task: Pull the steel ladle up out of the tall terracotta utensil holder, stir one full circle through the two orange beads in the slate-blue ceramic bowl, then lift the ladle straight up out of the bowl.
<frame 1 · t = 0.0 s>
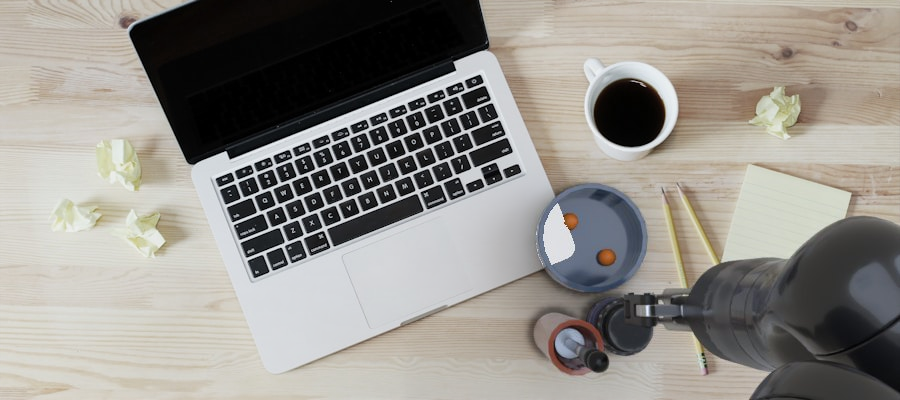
hand: (693, 307, 67), 20 cm above the table, tool pointing down, fingers open, 8 cm apart
bead b: (607, 257, 86), point 2 cm above the table, touching bowl
ladle: (600, 363, 53), point 34 cm above the table, touching crock
crock: (554, 333, 87), on the table
bowl: (586, 240, 88), on the table
bead a: (569, 221, 87), point 2 cm above the table, touching bowl
pill bottle: (611, 323, 87), on the table
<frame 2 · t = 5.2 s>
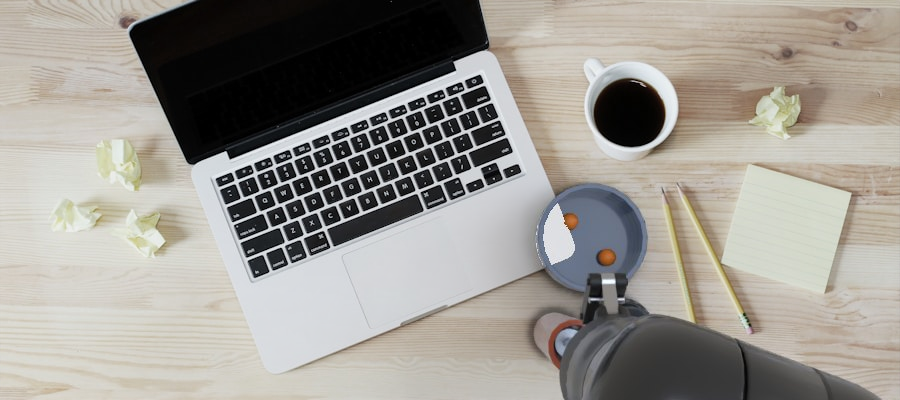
hand: (590, 356, 58), 29 cm above the table, tool pointing down, fingers closed on ladle
ladle: (600, 362, 53), point 34 cm above the table, touching crock, gripper
everything else where it was.
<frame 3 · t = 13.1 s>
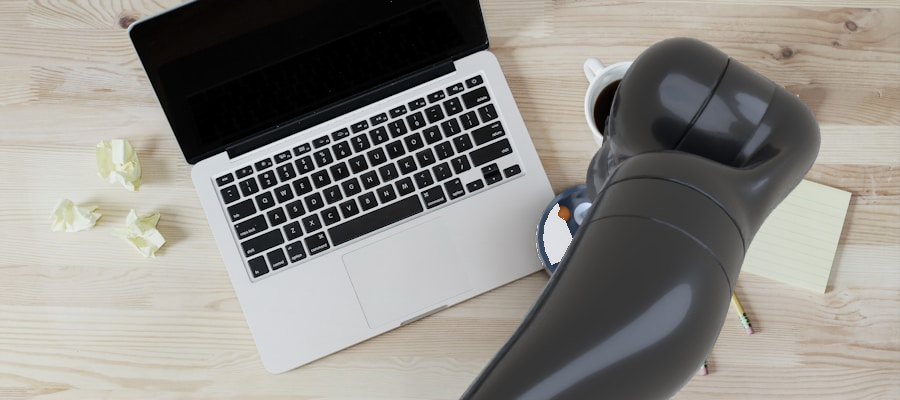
hand: (606, 201, 73), 16 cm above the table, tool pointing down, fingers closed on ladle
ladle: (615, 194, 68), point 21 cm above the table, touching gripper
bead a: (561, 214, 87), point 2 cm above the table, tilted 73°, touching bowl
everything else where it was.
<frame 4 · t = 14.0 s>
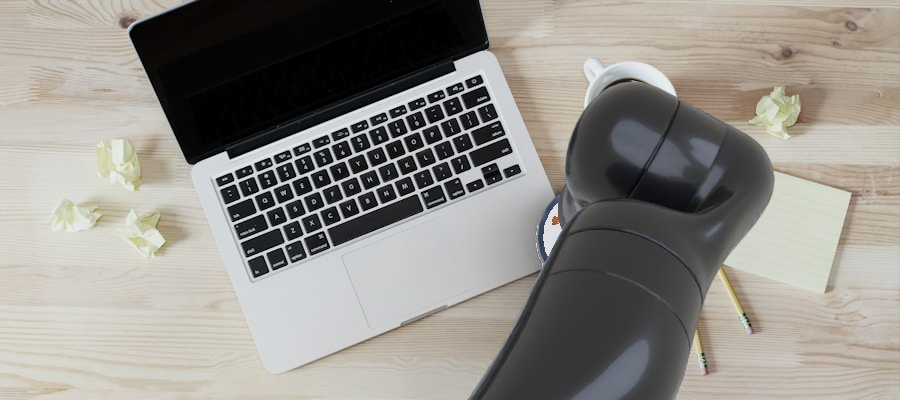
hand: (583, 225, 73), 16 cm above the table, tool pointing down, fingers closed on ladle
ladle: (589, 220, 68), point 21 cm above the table, touching bead a, gripper
bead a: (554, 220, 87), point 2 cm above the table, tilted 83°, touching bowl, ladle
everything else where it was.
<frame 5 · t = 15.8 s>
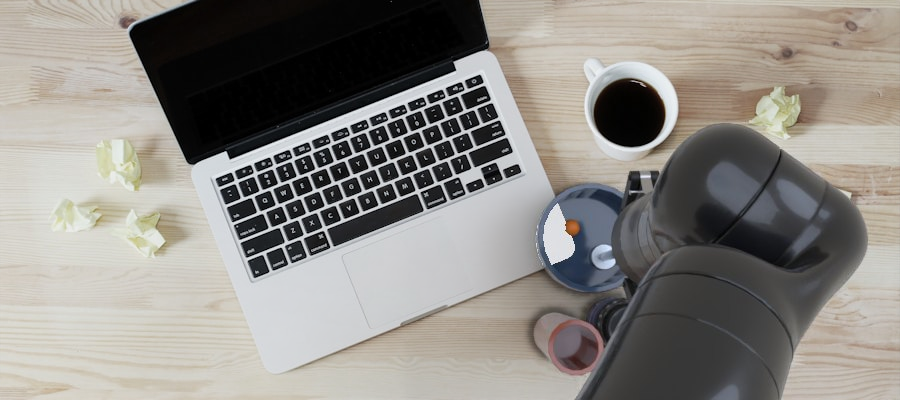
hand: (625, 250, 72), 16 cm above the table, tool pointing down, fingers closed on ladle
bead b: (624, 253, 86), point 2 cm above the table, tilted 118°, touching bowl, ladle
ladle: (635, 247, 67), point 21 cm above the table, touching bead b, gripper
bead a: (571, 227, 87), point 2 cm above the table, tilted 69°, touching bowl
everything else where it was.
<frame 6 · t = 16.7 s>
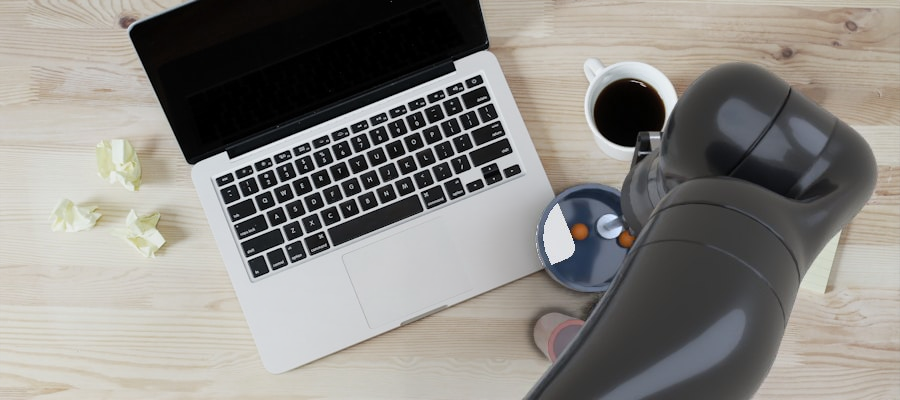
hand: (634, 215, 72), 16 cm above the table, tool pointing down, fingers closed on ladle
bead b: (627, 238, 86), point 2 cm above the table, tilted 118°, touching bowl
ladle: (645, 209, 67), point 21 cm above the table, touching gripper
bead a: (579, 231, 87), point 2 cm above the table, tilted 99°, touching bowl
everything else where it was.
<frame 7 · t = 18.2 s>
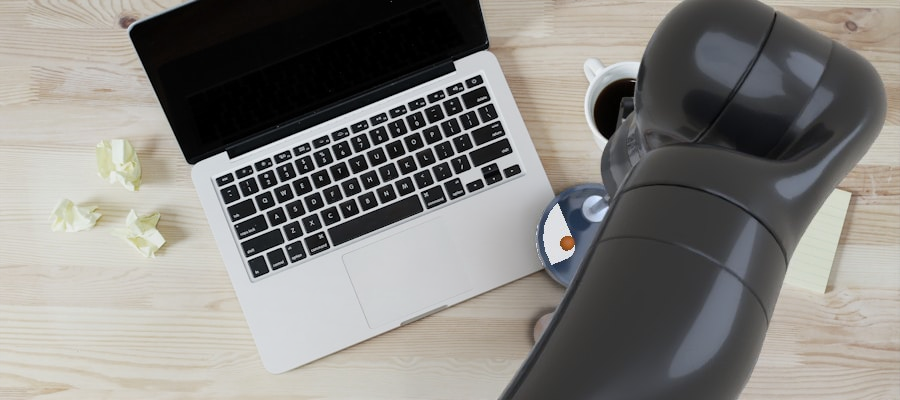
hand: (619, 192, 67), 22 cm above the table, tool pointing down, fingers closed on ladle
ladle: (630, 184, 62), point 27 cm above the table, touching gripper
bead a: (566, 243, 87), point 2 cm above the table, tilted 27°, touching bowl
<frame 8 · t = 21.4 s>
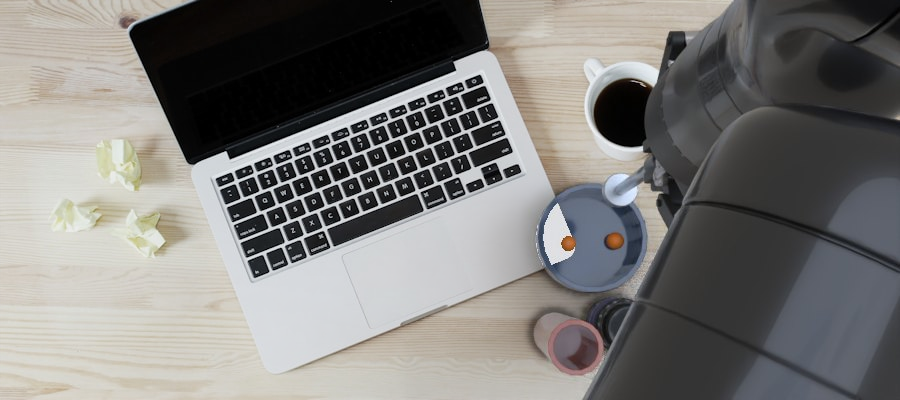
hand: (658, 163, 52), 37 cm above the table, tool pointing down, fingers closed on ladle
bead b: (615, 240, 86), point 2 cm above the table, tilted 100°, touching bowl
ladle: (676, 150, 47), point 42 cm above the table, touching gripper
bead a: (567, 243, 87), point 2 cm above the table, tilted 20°, touching bowl
everything else where it was.
at the end: bead a moved 2.5 cm from its start; ladle point 41.9 cm above the table; ladle tilted 0° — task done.
